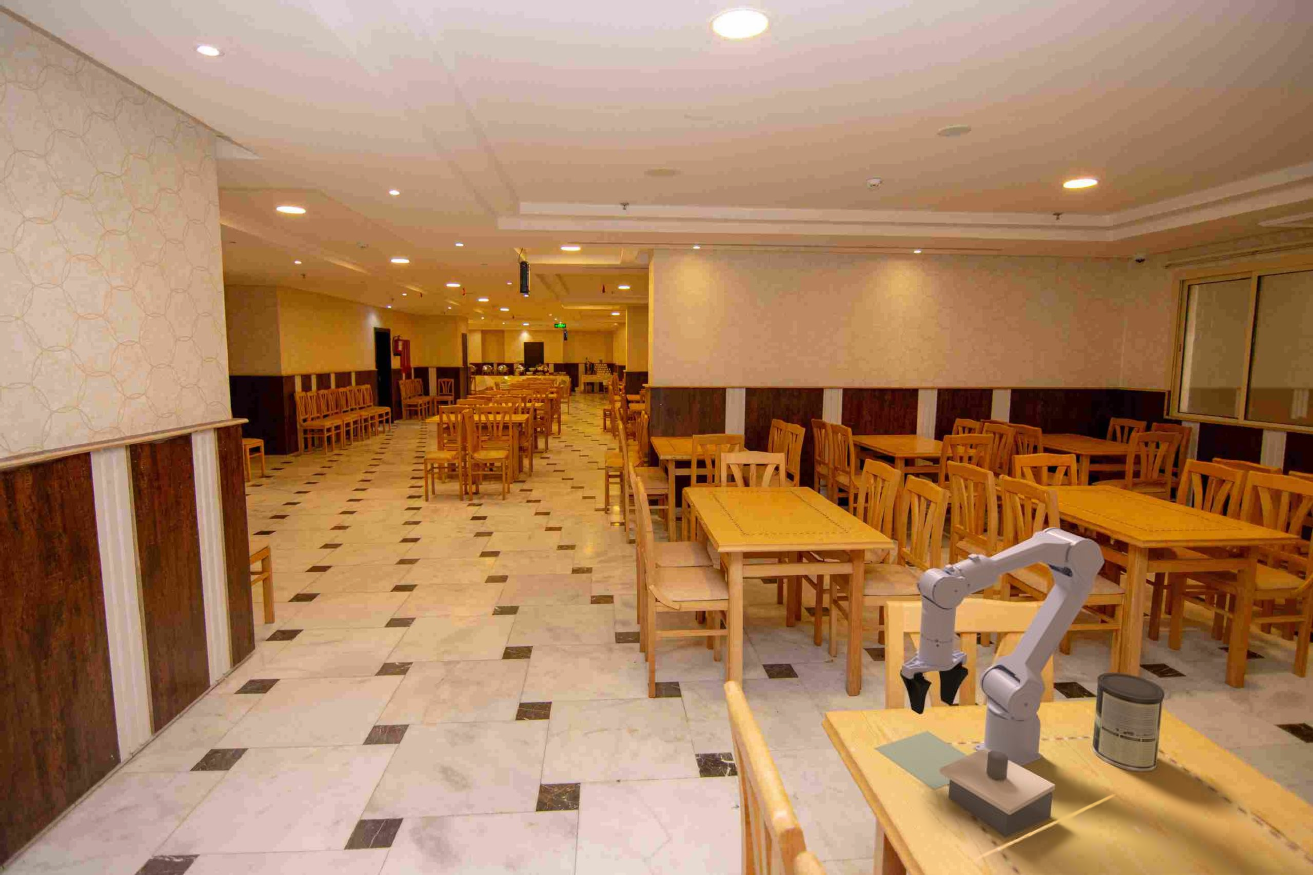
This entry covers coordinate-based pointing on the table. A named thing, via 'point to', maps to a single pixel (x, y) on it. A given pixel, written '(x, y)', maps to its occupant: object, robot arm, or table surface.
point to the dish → (997, 817)
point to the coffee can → (1127, 721)
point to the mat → (923, 757)
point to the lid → (997, 780)
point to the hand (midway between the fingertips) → (931, 707)
